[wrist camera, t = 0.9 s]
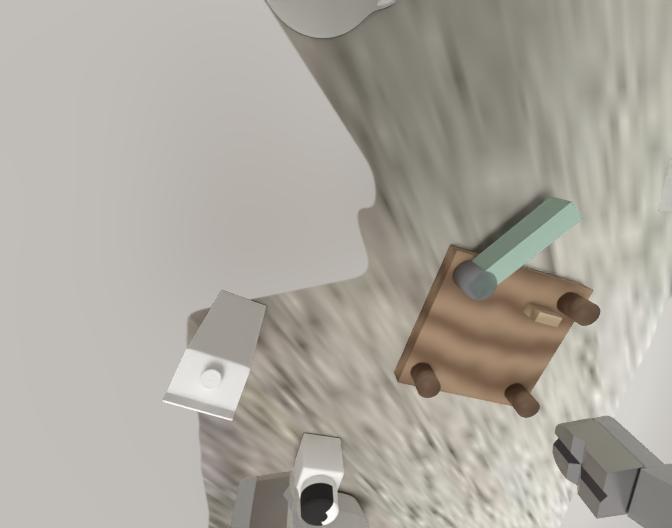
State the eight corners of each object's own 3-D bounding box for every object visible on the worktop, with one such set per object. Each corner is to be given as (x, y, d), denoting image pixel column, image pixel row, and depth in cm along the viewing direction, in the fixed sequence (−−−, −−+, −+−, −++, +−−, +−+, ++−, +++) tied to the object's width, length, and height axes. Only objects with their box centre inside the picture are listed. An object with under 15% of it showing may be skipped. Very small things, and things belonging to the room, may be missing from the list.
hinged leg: (464, 293, 49) (477, 306, 45) (447, 274, 48) (459, 285, 44) (562, 215, 46) (585, 222, 42) (547, 192, 45) (569, 197, 41)
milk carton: (250, 341, 52) (221, 444, 35) (206, 327, 51) (152, 426, 33) (266, 305, 50) (244, 394, 33) (221, 288, 49) (172, 372, 31)
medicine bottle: (294, 460, 62) (291, 530, 51) (303, 432, 60) (302, 498, 49) (330, 464, 63) (335, 534, 52) (340, 437, 61) (348, 503, 50)
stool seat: (450, 245, 49) (470, 259, 43) (581, 283, 53) (616, 301, 47) (394, 372, 57) (404, 400, 51) (512, 397, 61) (535, 425, 55)
